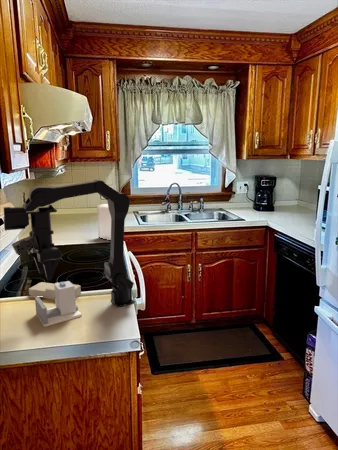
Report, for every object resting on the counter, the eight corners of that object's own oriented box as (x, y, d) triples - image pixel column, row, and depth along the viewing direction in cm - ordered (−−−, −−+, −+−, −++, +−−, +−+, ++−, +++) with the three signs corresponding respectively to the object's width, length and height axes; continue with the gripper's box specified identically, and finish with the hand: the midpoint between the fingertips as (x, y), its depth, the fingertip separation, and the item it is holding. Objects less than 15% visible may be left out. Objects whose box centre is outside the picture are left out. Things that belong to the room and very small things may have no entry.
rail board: (71, 305, 119) (70, 289, 118) (81, 316, 111) (80, 299, 110) (36, 314, 112) (34, 297, 111) (44, 326, 104) (42, 308, 103)
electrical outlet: (40, 279, 133) (80, 285, 127) (41, 289, 133) (81, 295, 128) (28, 286, 126) (70, 292, 121) (29, 296, 127) (70, 302, 122)
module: (70, 305, 116) (68, 278, 114) (76, 311, 112) (74, 283, 110) (56, 309, 114) (53, 281, 111) (61, 315, 109) (58, 287, 107)
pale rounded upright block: (117, 241, 202) (116, 205, 197) (94, 241, 204) (92, 205, 199) (123, 235, 217) (122, 202, 212) (102, 235, 218) (100, 201, 214)
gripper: (7, 226, 106) (11, 274, 108) (19, 234, 91) (24, 289, 93) (43, 223, 112) (47, 269, 114) (60, 229, 97) (64, 282, 99)
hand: (45, 276), depth 105 cm, fingers open, 9 cm apart
